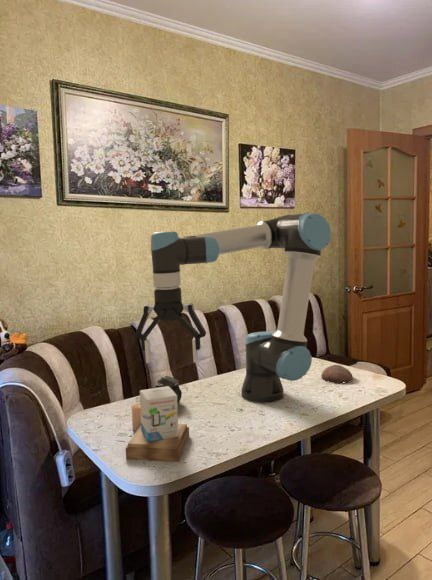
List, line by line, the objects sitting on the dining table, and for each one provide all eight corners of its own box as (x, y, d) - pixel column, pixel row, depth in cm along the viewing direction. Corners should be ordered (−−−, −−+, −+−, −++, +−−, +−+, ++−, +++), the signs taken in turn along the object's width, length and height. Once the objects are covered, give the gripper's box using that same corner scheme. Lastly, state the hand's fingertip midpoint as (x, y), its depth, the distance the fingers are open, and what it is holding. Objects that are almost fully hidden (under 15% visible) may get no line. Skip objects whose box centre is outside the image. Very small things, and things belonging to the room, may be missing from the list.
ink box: (147, 442, 114) (146, 399, 112) (140, 429, 122) (139, 389, 120) (179, 436, 117) (177, 394, 116) (170, 424, 125) (169, 385, 123)
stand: (189, 436, 126) (188, 423, 125) (178, 461, 112) (178, 446, 111) (142, 434, 127) (141, 421, 127) (126, 458, 114) (125, 444, 113)
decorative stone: (326, 373, 182) (326, 360, 182) (355, 377, 176) (355, 364, 176) (317, 381, 172) (317, 367, 172) (348, 386, 166) (348, 371, 165)
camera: (173, 414, 142) (172, 384, 141) (145, 412, 144) (143, 382, 143) (186, 399, 155) (185, 372, 154) (160, 397, 157) (159, 370, 156)
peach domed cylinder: (152, 423, 135) (151, 401, 134) (153, 431, 129) (151, 408, 128) (132, 425, 134) (131, 403, 133) (132, 433, 128) (131, 410, 128)
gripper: (213, 284, 124) (216, 356, 127) (127, 287, 127) (133, 358, 129) (210, 287, 117) (214, 364, 119) (119, 290, 119) (125, 366, 122)
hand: (171, 361), depth 124 cm, fingers open, 13 cm apart
